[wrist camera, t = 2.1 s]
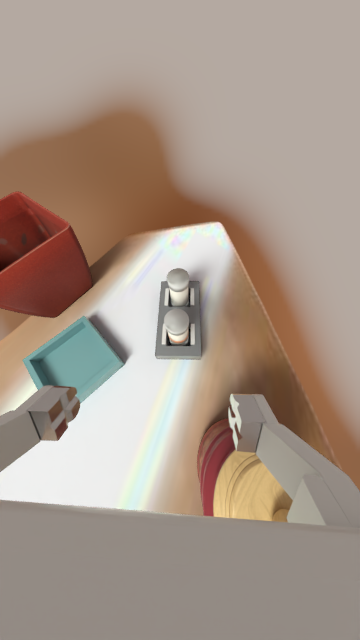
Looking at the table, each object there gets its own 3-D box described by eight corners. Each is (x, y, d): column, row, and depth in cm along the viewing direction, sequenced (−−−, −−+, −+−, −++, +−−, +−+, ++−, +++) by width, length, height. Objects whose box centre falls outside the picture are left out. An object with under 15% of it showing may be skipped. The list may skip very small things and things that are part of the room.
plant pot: (49, 338, 39) (-41, 298, 23) (9, 296, 44) (-84, 242, 29) (111, 283, 44) (71, 224, 29) (69, 253, 50) (17, 189, 35)
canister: (239, 401, 31) (292, 404, 15) (295, 477, 26) (459, 596, 10) (181, 448, 29) (173, 509, 13) (232, 542, 24) (323, 834, 8)
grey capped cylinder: (192, 339, 37) (194, 319, 28) (178, 352, 36) (175, 336, 27) (179, 326, 38) (176, 304, 29) (165, 338, 37) (158, 319, 28)
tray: (124, 364, 35) (119, 361, 32) (64, 417, 31) (52, 418, 29) (90, 321, 40) (83, 315, 37) (34, 362, 36) (22, 360, 33)
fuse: (192, 303, 41) (193, 276, 32) (179, 314, 40) (177, 289, 31) (180, 293, 42) (178, 265, 33) (168, 303, 41) (162, 277, 32)
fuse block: (200, 359, 35) (201, 355, 32) (157, 359, 35) (154, 355, 32) (198, 288, 43) (198, 280, 40) (163, 288, 43) (161, 280, 40)
